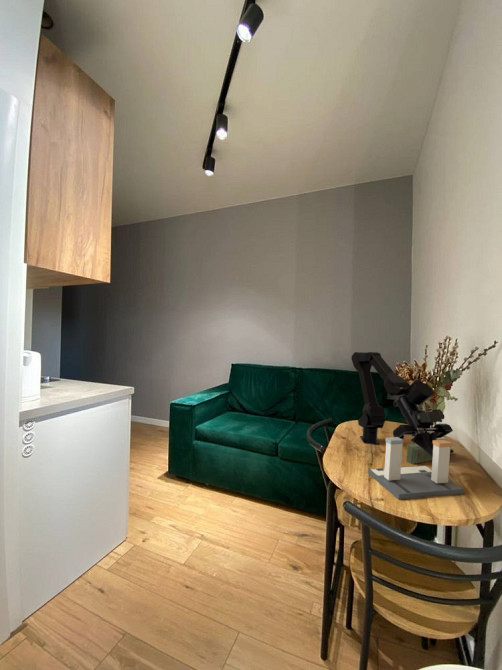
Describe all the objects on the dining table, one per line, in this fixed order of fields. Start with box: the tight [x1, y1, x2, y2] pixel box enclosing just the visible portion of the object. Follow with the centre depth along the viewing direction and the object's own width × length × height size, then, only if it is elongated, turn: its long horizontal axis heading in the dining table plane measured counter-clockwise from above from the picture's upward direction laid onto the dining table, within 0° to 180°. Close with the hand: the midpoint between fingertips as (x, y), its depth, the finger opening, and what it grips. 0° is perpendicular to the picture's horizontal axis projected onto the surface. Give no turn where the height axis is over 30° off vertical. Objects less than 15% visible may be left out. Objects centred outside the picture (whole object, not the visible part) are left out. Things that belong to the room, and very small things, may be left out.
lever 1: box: [384, 436, 404, 480], centre depth 82 cm, size 2×4×12 cm, turn 102°
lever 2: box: [431, 439, 452, 483], centre depth 82 cm, size 2×4×12 cm, turn 102°
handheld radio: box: [405, 438, 455, 465], centre depth 102 cm, size 7×3×25 cm
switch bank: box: [367, 465, 465, 500], centre depth 84 cm, size 14×22×2 cm, turn 102°
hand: (437, 458), depth 83 cm, fingers closed, pressing on lever 2
